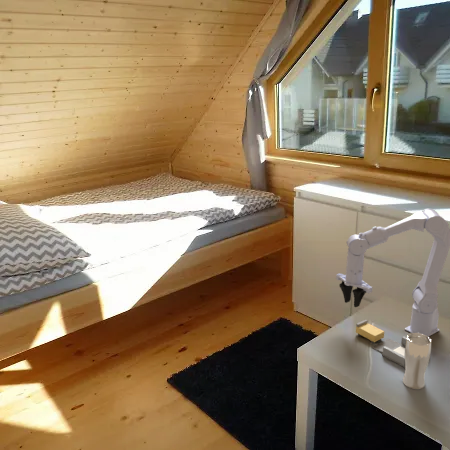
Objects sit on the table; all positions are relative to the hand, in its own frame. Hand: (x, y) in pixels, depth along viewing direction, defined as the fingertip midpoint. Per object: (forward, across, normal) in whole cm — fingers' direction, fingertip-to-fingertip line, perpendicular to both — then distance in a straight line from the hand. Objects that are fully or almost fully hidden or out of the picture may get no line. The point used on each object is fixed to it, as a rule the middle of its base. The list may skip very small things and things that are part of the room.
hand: (352, 304), depth 166 cm
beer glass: (+10, +32, -10) cm, 35 cm away
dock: (+10, +20, 0) cm, 22 cm away
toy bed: (+9, +8, 0) cm, 13 cm away
